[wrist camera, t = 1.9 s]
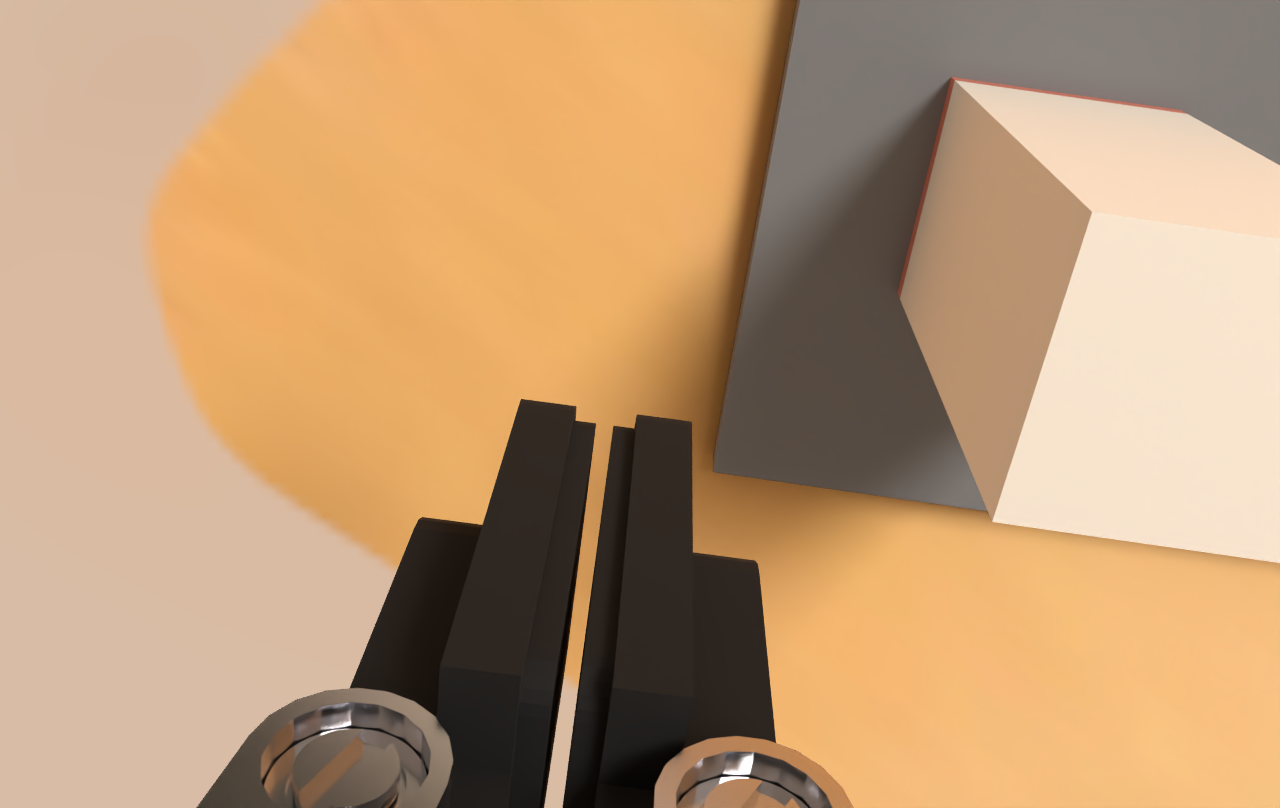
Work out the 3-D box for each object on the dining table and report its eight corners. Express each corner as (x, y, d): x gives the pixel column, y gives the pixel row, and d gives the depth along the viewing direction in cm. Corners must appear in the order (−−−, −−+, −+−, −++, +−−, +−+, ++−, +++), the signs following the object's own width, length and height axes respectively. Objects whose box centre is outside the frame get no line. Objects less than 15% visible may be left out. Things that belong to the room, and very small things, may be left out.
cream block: (1180, 110, 24) (1457, 264, 15) (1106, 322, 26) (1309, 567, 17) (950, 76, 24) (1092, 212, 15) (897, 293, 26) (991, 521, 17)
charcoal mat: (1827, -92, 22) (1864, -90, 22) (1461, 563, 30) (1479, 581, 29) (839, -237, 22) (844, -239, 22) (713, 457, 29) (713, 472, 29)
